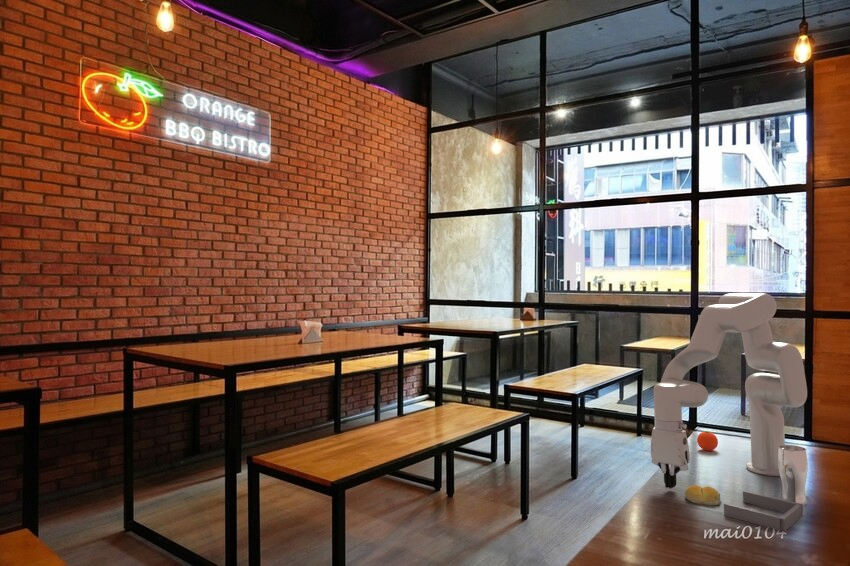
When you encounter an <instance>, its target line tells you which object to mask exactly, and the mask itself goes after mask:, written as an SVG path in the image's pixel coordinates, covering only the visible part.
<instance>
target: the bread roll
mask: <svg viewBox="0 0 850 566" xmlns="http://www.w3.org/2000/svg"><path fill="white" fill-rule="evenodd" d="M684 496H685V498H686V499H687V500H688V501H690V503H691V502H692V503H694V504H697V505H705V506H716V505H719V504H721V493H720V492H719V491H718V490H716V489H715V488H714V487H712V486H704V487H702V486H700V485H696V484H695V485H690V486H688V487H687V488H686V489H685V491H684Z"/></svg>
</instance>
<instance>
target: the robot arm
mask: <svg viewBox="0 0 850 566" xmlns="http://www.w3.org/2000/svg"><path fill="white" fill-rule="evenodd" d="M717 302H718V303H717V304H709V305H706V306H705V307H704V308H703V309H702V311H701V312H700V315H699V318H698V320H697V322H696V325H695V328H694V331H693V333H692V336H691V338H690V341H689V344H688V345H687V347H685V348H684V349H683V350H682V351H680V352H679V353H678V354H677V355H676V356H675V357H673V359H671V360H670V361H669V362H668V364H667V366H666V367H665V370H664V372H663V375H662V377H661V380H660V382H659V383H656V384H654V386H653V404H654V405H653V411H654V415H653V416H654V427H653V428H652V431H651V437H650V458H651V463H652V464H653V465H656V466H658V468H659V469H660V470H661V472H662V474H663V482H664V484H665V485H664V487H665V488H667V489H674V488H675V487H676V486H677V474H678V473H680V472H686V471H689V470H690V468H689V465H688V464H689V463H690V462H691V457H690V455H691V454H690V448H689V447H690V445H689V440H688V436H687V433H686V430H683V429H687V426H688V425H687V424H685V423H684V422H683V413H682V410H683V409H682V408H700V407H702V406H704V405H705V404H706V403H707V401H708V400H709V399H708V398H709V392H708V390H707V388H706V387H705V386H704V385H703V384H701V383H699V382H695V381H691V380H686V379H684V377H685V376H686V374H687V373H688V372H689V371H690V370H691V369H692V368H694V367H697V366H699V365H701V364H704V363H707V362H709V361H712V360H715V359H716V358H718V355H719V354H720V350H721V348H722V345H723V343H724V339H725V337H726V335H727V333H740V334H741V339H742V344H743V351H744V357H745V362H746V364H747V366H748V367H750V368H752V369H754V370H758V371H764V372H756V373H752V374H751V375H748V377H747V378H746V379H745V382H744V384H745V385H744V390H745V393H746V397H747V403H748V407H749V424H750V425H749V432H750V455H751V456H750V458H751V461H749V462H747V463H746V464H745V466H746V469H747V470H748V471H750V472H753V473H755V474H759V475H764V476H770V477H771V476H772V477H780V473H779V467H778V446H779V445H786V441H785V440H786V437H785V418H784V417H785V416H784V414H783V412H782V409H781V407H786V408H799V407H802V406H803V405H804V404H805V403H806V401H807V398H808V386H807V380H806V373H805V367H804V362H803V357H802V354H801V352H800V350H799V349H798V347H796V346H795V345H793V344H791V343H788V342H779V341H778V342H777V341H775V340H774V338H773V337H774V336H773V332H772V329H771V325H770V323H769V321H770V320H771V319H772V318H773V317H774V315H775V314H776V312H777V307H778V305H777V302H776V300H775V298H774V297H773V296H772V295H770V294H768V293H766V292H763V293H762V292H732V293H731V292H730V293H726V294H723V295H722V296H720V298H719V299H718V301H717ZM765 371H766V372H765ZM768 372H770V373H768ZM771 372H773V373H771ZM775 373H777V374H775ZM780 406H781V407H780Z"/></svg>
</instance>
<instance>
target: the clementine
mask: <svg viewBox="0 0 850 566" xmlns="http://www.w3.org/2000/svg"><path fill="white" fill-rule="evenodd" d="M696 442H697V445H698V446H699V448H700V449H702V450H703V451H706V450H707V451H706V452H710V451H714V450H715V449H717V447H718V444H719V440H718V438H717V436H716V435H715V434H714V433H713V432H711V431H709V430H706V431H702V432H700V433H699V434H698V435H697V437H696Z"/></svg>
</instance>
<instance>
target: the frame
mask: <svg viewBox="0 0 850 566" xmlns="http://www.w3.org/2000/svg"><path fill="white" fill-rule="evenodd" d="M742 502H743V503H746V504H749V505H754V506H757V505H758V506H757V507H761V508H766V509H770V510H773V511H777V512H782V513H784V514H783V515H782V516H778V515H774V514H771V513H767V512H763V511H758V510H755V509H751V508H747V507H743V506H739V505H736V504H731V503H727V502H724V503H723V516H725V517H729V518H733V519H737V520H741V521H744V522H747V523H752V524H755V525H758V526H762V527H765V528H766V527H767V528H769V527H771V528H770V529H773V528H774V529H773V530H776V531H781V532H786V531H788V529H789V528H790V527H792V526H793V525H794V524H795V523H796V522H797V521H798V520H799V519H801V518H802V517H803V516H804V514H803V511H804V510H803V506H802V504H800V503H796V502H791V501H787V500H783V499H781V498H778V497H774V496H769V495H765V494H761V493H756V492H753V491H749V490H743V491H742Z"/></svg>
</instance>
